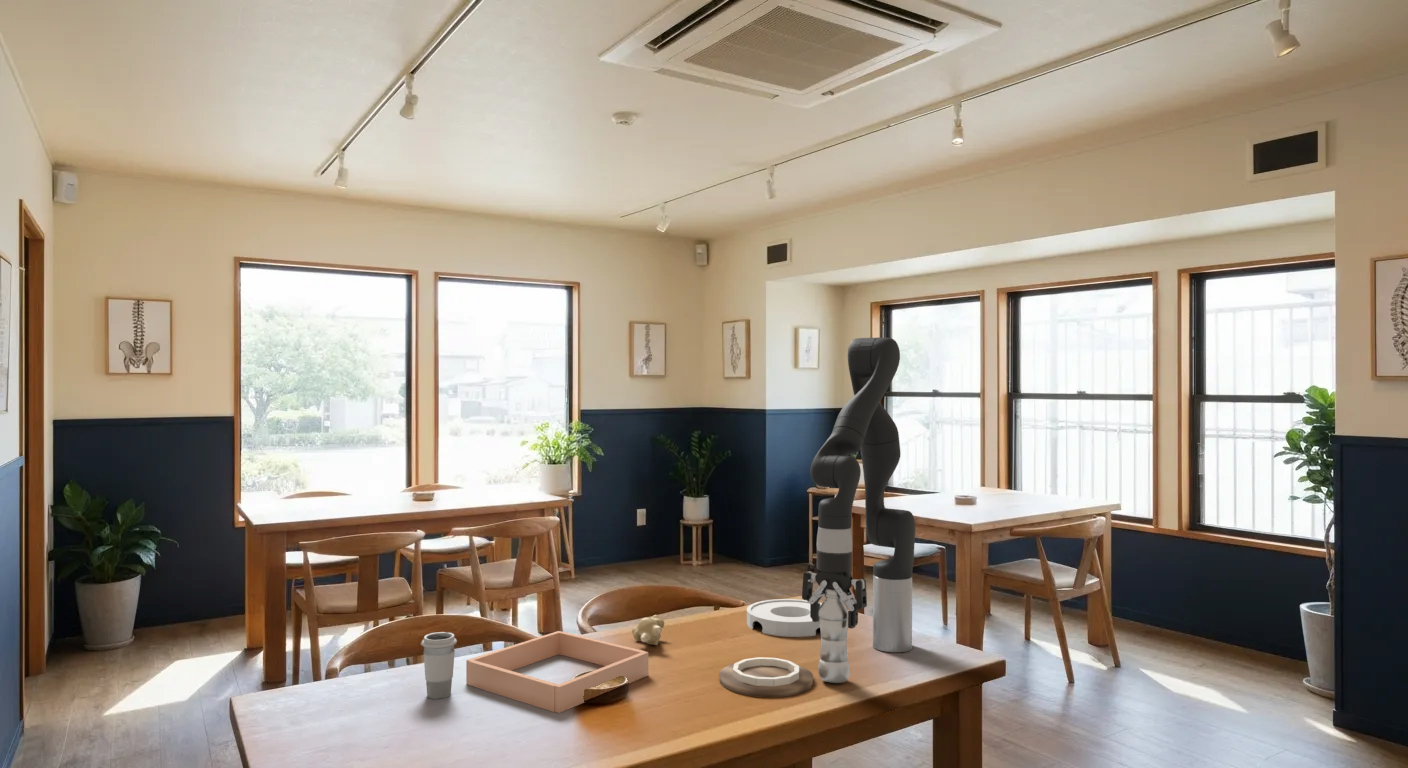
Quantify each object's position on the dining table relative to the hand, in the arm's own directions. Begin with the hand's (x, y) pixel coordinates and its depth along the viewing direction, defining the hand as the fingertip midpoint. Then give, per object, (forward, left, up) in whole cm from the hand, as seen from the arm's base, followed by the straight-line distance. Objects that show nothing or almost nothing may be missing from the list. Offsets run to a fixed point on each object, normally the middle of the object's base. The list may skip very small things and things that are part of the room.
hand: (833, 624), depth 190 cm
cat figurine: (+3, -48, -13) cm, 50 cm away
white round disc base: (-33, -30, -13) cm, 47 cm away
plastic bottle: (0, 0, -13) cm, 13 cm away
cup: (+55, -61, -13) cm, 83 cm away
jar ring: (+8, -12, -11) cm, 18 cm away
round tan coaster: (+8, -12, -12) cm, 19 cm away
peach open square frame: (+34, -48, -12) cm, 60 cm away
